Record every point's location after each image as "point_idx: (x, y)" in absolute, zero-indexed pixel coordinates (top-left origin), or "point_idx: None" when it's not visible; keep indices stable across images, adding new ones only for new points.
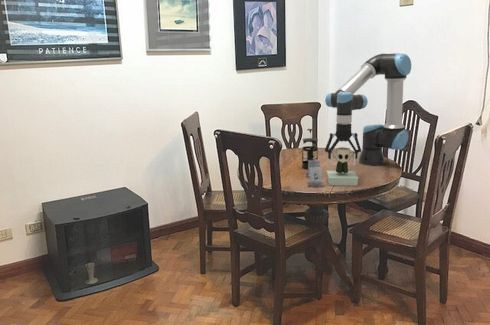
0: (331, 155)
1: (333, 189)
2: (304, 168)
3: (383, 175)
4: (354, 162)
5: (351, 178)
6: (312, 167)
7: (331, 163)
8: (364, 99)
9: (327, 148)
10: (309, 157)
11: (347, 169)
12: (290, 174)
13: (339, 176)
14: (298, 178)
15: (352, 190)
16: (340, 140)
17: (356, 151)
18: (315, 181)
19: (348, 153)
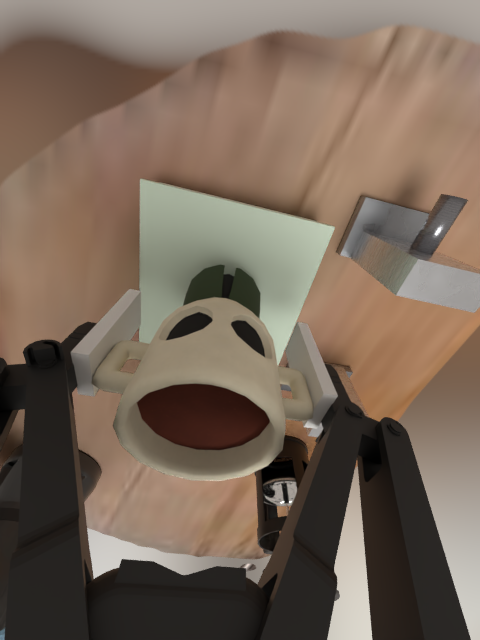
0: (325, 378)
1: (334, 121)
2: (304, 444)
3: (8, 335)
4: (123, 302)
5: (190, 191)
6: (467, 297)
7: (305, 332)
8: None
9: (399, 454)
10: (299, 485)
11: (191, 286)
12: (388, 402)
13: (255, 250)
14: (392, 354)
15: (220, 60)
16: (247, 598)
17: (42, 369)
18: (401, 241)
19: (156, 348)
